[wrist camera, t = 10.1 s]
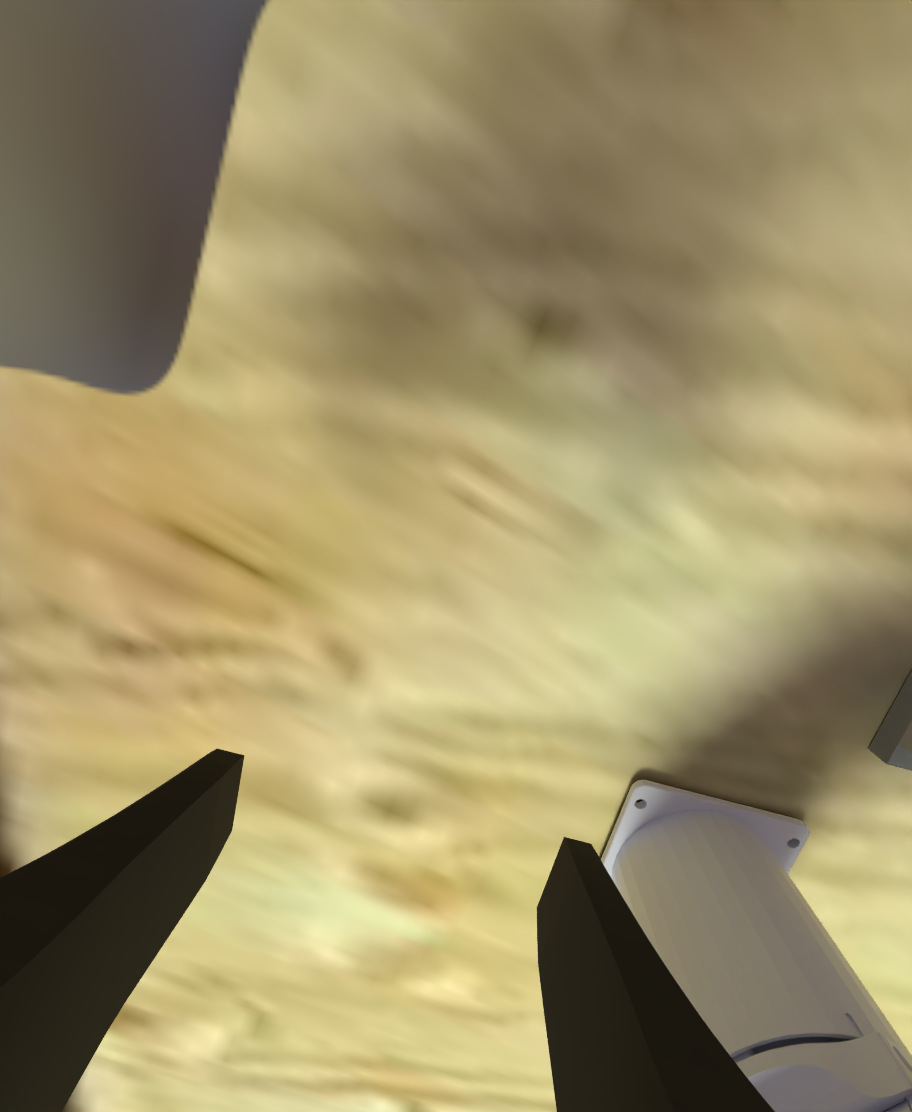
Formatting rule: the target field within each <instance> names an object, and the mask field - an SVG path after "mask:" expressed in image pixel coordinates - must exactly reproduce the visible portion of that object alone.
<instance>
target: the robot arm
mask: <svg viewBox="0 0 912 1112" xmlns="http://www.w3.org/2000/svg"><path fill="white" fill-rule="evenodd" d="M243 760H244V755H240V754H236V753H232V752H228V751H224V750H221V749H216V750H214V751H212V752H210V753H209V754H207V755H206V756H204V757H203V758H201V759H200V760H198V761H197V762H195V763H194V764H192V765H191V766H189V767H188V768H187V769H185V770H184V771H182V772H181V773H179V774H178V775H176V776H175V777H173V778H172V779H170V780H169V781H167V782H166V783H164V784H163V785H161V786H160V787H158V788H156V789H155V790H153V791H152V792H150V793H149V794H147V795H145V796H144V797H142V798H141V799H139V800H138V801H136V802H134V803H133V804H131V805H130V806H128V807H127V808H125V809H123V810H122V811H120V812H119V813H117V814H115V815H114V816H112V817H110V818H109V819H107V820H105V821H104V822H102V823H100V824H98V825H97V826H95V827H93V828H92V829H90V830H88V831H86V832H85V833H83V834H81V835H79V836H78V837H76V838H74V839H73V840H71V841H69V842H67V843H66V844H64V845H62V846H60V847H58V848H57V849H55V850H53V851H51V852H49V853H47V854H46V855H44V856H42V857H40V858H38V859H36V860H34V861H32V862H30V863H29V864H27V865H25V866H23V867H21V868H19V869H17V870H15V871H13V872H11V873H9V874H7V875H5V876H3V877H1V878H0V1112H62V1110H63V1108H64V1107H65V1105H66V1103H67V1101H68V1099H69V1098H70V1096H71V1094H72V1092H73V1091H74V1089H75V1087H76V1085H77V1083H78V1082H79V1080H80V1078H81V1076H82V1075H83V1073H84V1071H85V1069H86V1068H87V1066H88V1064H89V1062H90V1061H91V1059H92V1057H93V1055H94V1053H95V1052H96V1050H97V1048H98V1046H99V1045H100V1043H101V1041H102V1039H103V1038H104V1036H105V1034H106V1032H107V1031H108V1029H109V1027H110V1026H111V1024H112V1023H113V1021H114V1019H115V1018H116V1016H117V1015H118V1013H119V1011H120V1010H121V1008H122V1006H123V1005H124V1003H125V1002H126V1000H127V999H128V997H129V996H130V994H131V993H132V991H133V990H134V988H135V987H136V985H137V984H138V982H139V981H140V979H141V978H142V976H143V975H144V973H145V972H146V970H147V968H148V967H149V965H150V964H151V962H152V961H153V959H154V958H155V956H156V955H157V953H158V952H159V950H160V949H161V947H162V946H163V944H164V943H165V941H166V940H167V938H168V937H169V935H170V934H171V932H172V931H173V929H174V928H175V926H176V925H177V923H178V922H179V920H180V919H181V917H182V916H183V914H184V913H185V911H186V910H187V908H188V907H189V905H190V904H191V902H192V901H193V899H194V897H195V896H196V894H197V893H198V891H199V890H200V888H201V887H202V885H203V884H204V882H205V881H206V879H207V877H208V875H209V873H210V871H211V869H212V868H213V866H214V864H215V862H216V860H217V858H218V856H219V855H220V853H221V851H222V849H223V847H224V845H225V843H226V841H227V839H228V837H229V835H230V833H231V831H232V827H233V821H234V815H235V809H236V803H237V797H238V791H239V785H240V778H241V772H242V766H243ZM639 799H643V801H641V802H639V803H638V802H636V800H639ZM809 833H810V832H809V829H808V827H807V826H806V825H805V824H804V823H803V821H801V820H799V819H796V818H792V817H788V816H784V815H780V814H776V813H772V812H768V811H765V810H761V809H757V808H753V807H749V806H745V805H741V804H737V803H733V802H729V801H726V800H722V799H718V798H714V797H710V796H706V795H702V794H698V793H694V792H691V791H687V790H683V789H679V788H675V787H671V786H667V785H663V784H659V783H656V782H652V781H648V780H638V781H636V782H635V783H633V785H632V786H631V788H630V791H629V793H628V795H627V798H626V800H625V803H624V805H623V807H622V810H621V812H620V815H619V817H618V819H617V822H616V824H615V827H614V829H613V831H612V834H611V836H610V839H609V841H608V843H607V846H606V848H605V851H604V853H603V855H602V858H601V860H600V858H599V856H598V854H597V853H596V851H595V850H594V848H593V846H592V845H591V844H589V843H585V842H582V841H578V840H574V839H570V838H566V837H564V839H563V841H562V844H561V847H560V849H559V852H558V854H557V857H556V860H555V862H554V865H553V867H552V870H551V872H550V875H549V878H548V880H547V883H546V885H545V888H544V891H543V893H542V896H541V898H540V901H539V904H538V906H537V941H538V966H539V974H540V983H541V991H542V999H543V1007H544V1015H545V1023H546V1030H547V1038H548V1046H549V1054H550V1061H551V1069H552V1077H553V1085H554V1092H555V1100H556V1108H557V1112H912V1055H911V1054H910V1052H909V1051H908V1049H907V1048H906V1046H905V1045H904V1043H903V1042H902V1040H901V1039H900V1038H899V1036H898V1035H897V1033H896V1032H895V1030H894V1029H893V1027H892V1026H891V1024H890V1023H889V1021H888V1020H887V1019H886V1017H885V1016H884V1014H883V1013H882V1011H881V1010H880V1008H879V1007H878V1005H877V1004H876V1002H875V1001H874V1000H873V998H872V997H871V995H870V994H869V992H868V991H867V989H866V988H865V986H864V985H863V983H862V982H861V981H860V979H859V978H858V976H857V975H856V973H855V972H854V970H853V969H852V967H851V966H850V964H849V963H848V961H847V960H846V959H845V957H844V956H843V954H842V953H841V951H840V950H839V948H838V947H837V945H836V944H835V942H834V941H833V940H832V938H831V937H830V935H829V934H828V932H827V931H826V929H825V928H824V926H823V925H822V923H821V922H820V921H819V919H818V918H817V916H816V915H815V913H814V912H813V910H812V909H811V907H810V906H809V904H808V903H807V902H806V900H805V899H804V897H803V896H802V894H801V893H800V891H799V890H798V888H797V887H796V885H795V884H794V883H793V881H792V880H791V878H790V877H789V875H788V873H789V871H790V869H791V867H792V866H793V864H794V862H795V860H796V858H797V856H798V855H799V853H800V851H801V849H802V847H803V846H804V844H805V842H806V840H807V838H808V836H809ZM790 839H792V840H790ZM789 840H790V841H789Z"/></svg>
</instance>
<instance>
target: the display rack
mask: <svg viewBox="0 0 912 1112" xmlns="http://www.w3.org/2000/svg"><path fill="white" fill-rule="evenodd" d="M868 749H869V750H870V751H872V752H873V753H874V754H875V755H876V756H878V757H879V758H880V759H881V760H882V761H884V762H885V763H886V764H888V765H892V766H896V767H900V768H904V769H908V770H912V671H911V672H910V674H909V676H908V678H907V680H906V681H905V683H904V685H903V687H902V689H901V690H900V692H899V694H898V696H897V698H896V699H895V701H894V703H893V705H892V707H891V708H890V710H889V712H888V714H887V716H886V718H885V719H884V721H883V723H882V725H881V727H880V728H879V730H878V732H877V734H876V736H875V737H874V739H873V741H872V743H871V745H870V746H869V748H868Z"/></svg>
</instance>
